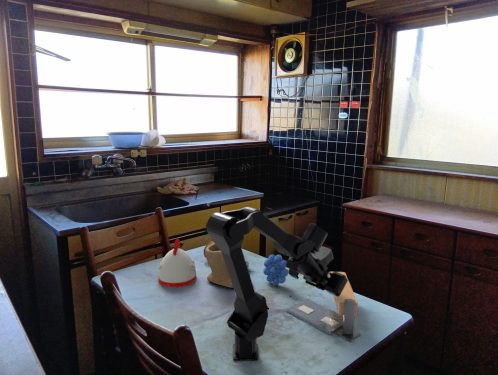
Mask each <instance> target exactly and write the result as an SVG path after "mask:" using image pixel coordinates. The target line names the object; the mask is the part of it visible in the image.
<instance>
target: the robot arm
mask: <svg viewBox="0 0 498 375" xmlns="http://www.w3.org/2000/svg"><path fill="white" fill-rule="evenodd" d="M205 224H206V225H205V227H206V232H207V233H208V235H209V237H210V240H211V241H213V242H214V243H215V244H216V245H217V247H218V248H219V249H220V250H221V252H222V255H223V258H224V261H225V264H226V267H227V270H228V273H229V276H230V279H231V282H232V285H233V288H232V289H233V290H234V293H235V294H234V295H235V299H234V303H233V307H234V309H233V311H232V313H231V314H230V315H229V317H228V319H227V320H226V324H227V326H228V328H229V329H231V330H233V331H234V343H233V345H232V360H233V361H259V347H258V346H259V345H258V342H257V339H259V338H260V337H262V336H263V335H264V333H265V329H266V327H267V326H266V325H267V323H268V322H267V321H268V318H269V312H268V310H270V307H269V306H268V303H267V299H266V296H265V295H263V294H261V293H259V292H256V290H255V288H254V284H253V281H252V277H251V275H250V271H249V270H248V268H247V264H246V261H247V260H246V258H245V254H244V251H243V248H242V246H243V242H244V239H245V235H247V234H249V233H251V231H252V230H253V229H254V230H255V231H257V232H258V233H260V235H263V236H264V237H265V238H266V239H268V241H270V242H271V243H272V246H273V248H274V249H275V250H276V251H277V253H279V254H280V255H281V254H282V255H283V256H287V257H289V258H288V259H286V262H287V263H286V269H288V271H289V274H288V276H291V277H292V278H293V279H296V280H298V279H299V278H300V276H299V274H300V275H302V279H303V280H304V281H305V284H307V285H309V286H312V287H315V288H316V289H318V290H320V291H326V292H327V293H329V295H332V296H333V295H335V296H337V297H338V296H340V294H341V292H342V291H343V289H344V287H345V285H346V283H347V281H349V279H347V278H348V277H346V276H347V275H346V276H345V275H343V274H340V273H338V272H339V271H328V265H329V264H330V262H332V261H334V258H335V257H334V254H333V251H332V249H331V248H328V247H327V246H326V247H325V246H322V245H323V243H324V242H325V240H327V239H326V238H327V236H328V235H329V233H328V232H327V231H326V230H324V229H323V228H321V227H320V226H318V225H317V224H316V223H313V222H310V223H309V225H308V227H307V229H306V230H305V232H304V234H303V235H302V237H300V236H297V235H294V234H291V233H289V232H286V230H284V229H283V228H281V227H280V226H279V225H278V224H276V222H274V221H272V219H270V218H269V217H268V216H266V215H265V214H264V213H263V212H262V210H261V209H258V208H254V207H251V206H245V207H242V208H240V209H233V210H227V211H223V212H214V213H212V214H211V215H210V216H209V218H208V219H207V222H206V223H205ZM331 272H333V273H331Z"/></svg>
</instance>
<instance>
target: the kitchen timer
mask: <svg viewBox="0 0 498 375" xmlns="http://www.w3.org/2000/svg"><path fill="white" fill-rule="evenodd" d="M174 240H175V241H174V245H173V249H171V250H169V251H168V252H167V253H166V254H165V256H164V257H163V258H162V259H161V260H160V263H159V268H158V278H157V279H158V284H160V285H162V286H164V287H168V288H180V287H185V286H189V285H191V284H192V283H194V282H195V281H196V280H197V271H196V265H195V259H192V258H191V256H190V255H189V253H188V252H186V251H185V250H184V249H182V248H180V246H181V244H180V243H181V241H180V239H179V238H176V239H174Z"/></svg>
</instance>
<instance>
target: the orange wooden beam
mask: <svg viewBox="0 0 498 375" xmlns="http://www.w3.org/2000/svg"><path fill="white" fill-rule="evenodd" d="M330 272H331V273H333V272H334V271H330ZM337 272H338V273H340V274H343V275H345V276H346V277H347V274H346V272H343V271H337ZM347 279H348V277H347ZM332 296H333V300H334V303H335V307H336V310H337V313H338V314H339V315H343V332H344V333H345V334H353V332H354V330H355V317H357V316H358V301H357V298H356V295H355V293H354V291H353V288H352V285H351V283H350V281H349V279H348V281H347V283H346V285H345V287H344V289H343V291H342V292H341V294H340V296H338V297H337V296H335V295H332Z"/></svg>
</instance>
